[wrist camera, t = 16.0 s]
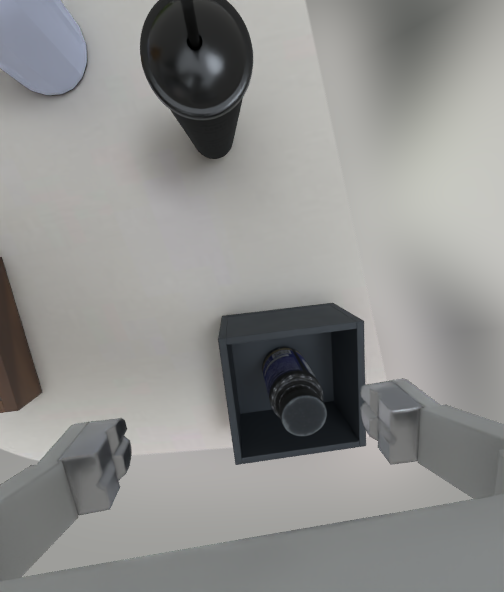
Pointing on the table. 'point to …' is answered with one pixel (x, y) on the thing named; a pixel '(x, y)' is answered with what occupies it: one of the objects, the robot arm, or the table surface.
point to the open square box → (323, 363)
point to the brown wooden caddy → (14, 354)
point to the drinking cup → (199, 67)
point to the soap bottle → (41, 45)
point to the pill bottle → (294, 391)
